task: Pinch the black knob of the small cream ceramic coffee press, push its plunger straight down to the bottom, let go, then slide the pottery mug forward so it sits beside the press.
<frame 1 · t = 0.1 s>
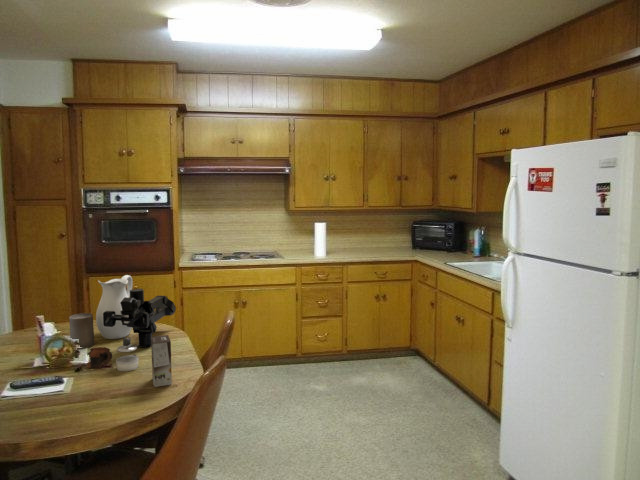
hand: (116, 325, 194), 17 cm above the table, tool horizontal, fingers open, 9 cm apart
press: (127, 367, 194), on the table
pottery mug: (101, 365, 197), on the table
plunger: (126, 343, 193), point 10 cm above the table, slide at 0.0 cm
pitcher: (120, 333, 239), on the table
coffee box: (161, 382, 181), on the table
pillar candle: (82, 345, 221), on the table
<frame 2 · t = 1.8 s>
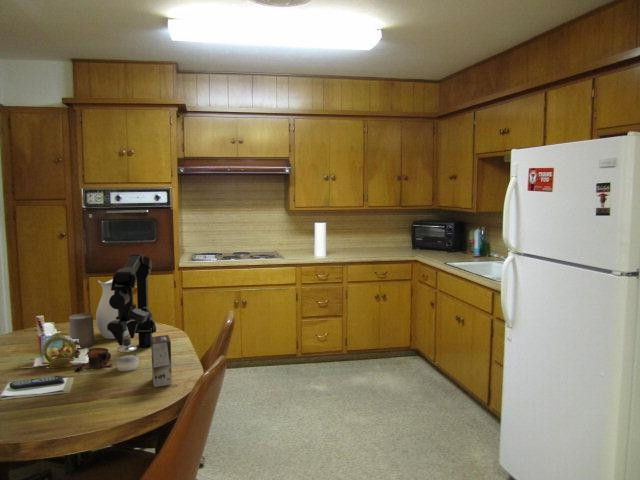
hand: (126, 341, 193), 10 cm above the table, tool pointing down, fingers open, 9 cm apart
nothing on the table moved.
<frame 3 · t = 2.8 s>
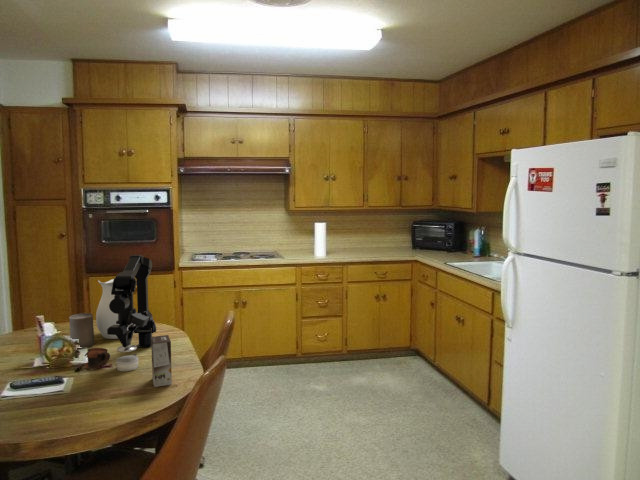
hand: (126, 345, 193), 9 cm above the table, tool pointing down, fingers closed on plunger, 3 cm apart
plunger: (126, 344, 193), point 10 cm above the table, slide at 0.0 cm, touching gripper
everything else where it was.
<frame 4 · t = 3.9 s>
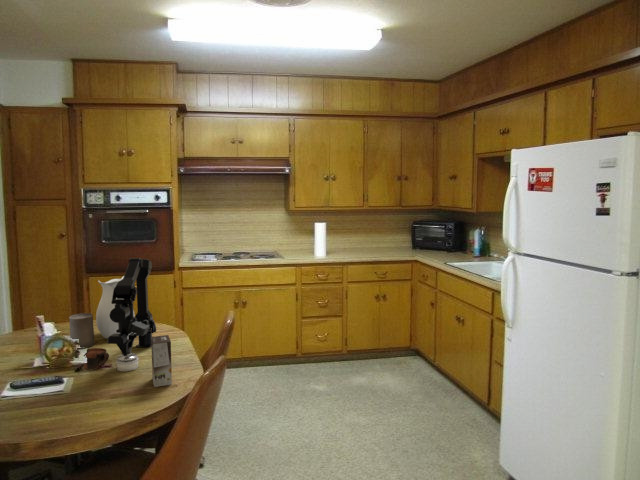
hand: (127, 354, 194), 5 cm above the table, tool pointing down, fingers closed on plunger, 3 cm apart
plunger: (127, 352, 193), point 6 cm above the table, slide at 3.5 cm, touching gripper
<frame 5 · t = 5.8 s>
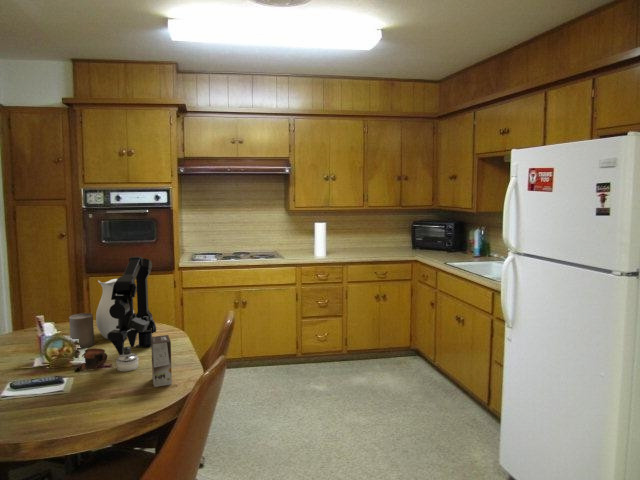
hand: (127, 350, 193), 7 cm above the table, tool pointing down, fingers open, 9 cm apart
plunger: (127, 352, 193), point 6 cm above the table, slide at 3.6 cm
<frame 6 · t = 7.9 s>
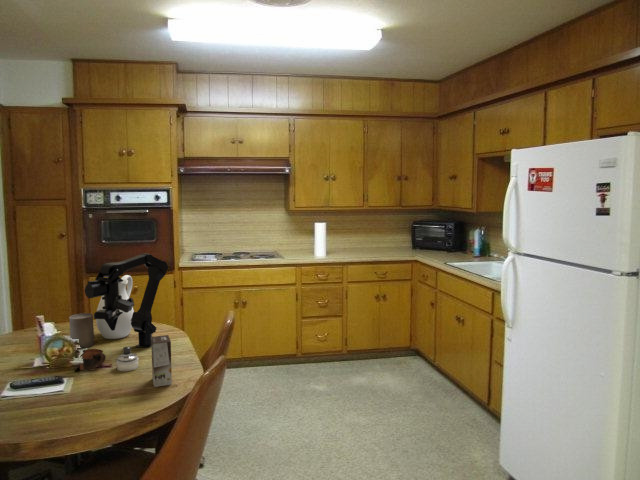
hand: (113, 330, 206), 11 cm above the table, tool pointing down, fingers closed
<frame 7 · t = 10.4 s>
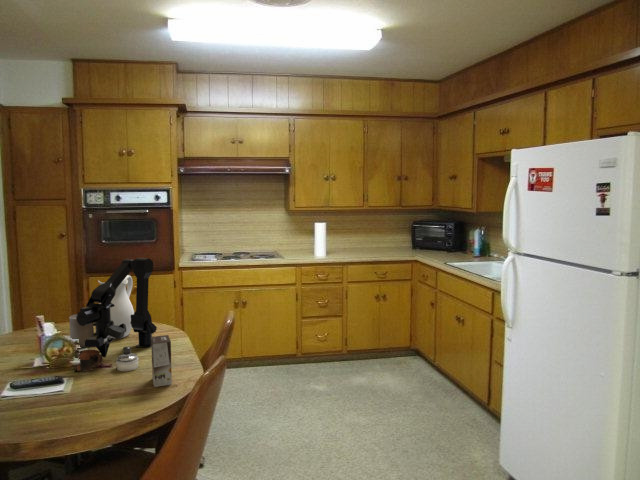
hand: (104, 357, 200), 2 cm above the table, tool pointing down, fingers closed
pottery mug: (90, 368, 194), on the table, touching gripper
everything else where it was.
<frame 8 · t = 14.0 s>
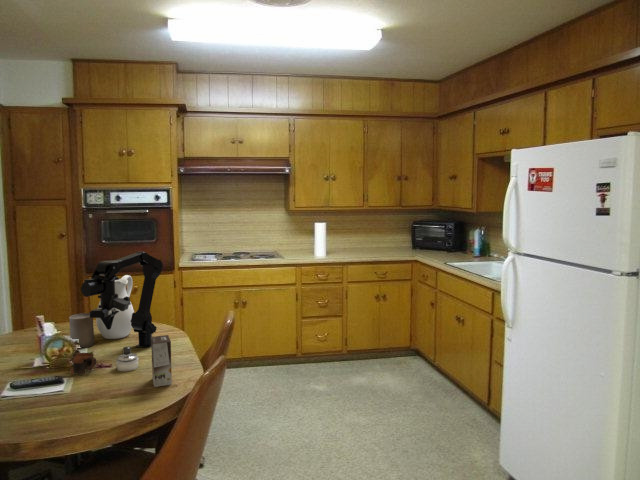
hand: (109, 329, 203), 12 cm above the table, tool pointing down, fingers closed
pottery mug: (84, 371, 190), on the table
everything else where it was.
at the end: plunger slide at 3.6 cm; pottery mug moved 7.6 cm from its start; pottery mug tilted 2° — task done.
